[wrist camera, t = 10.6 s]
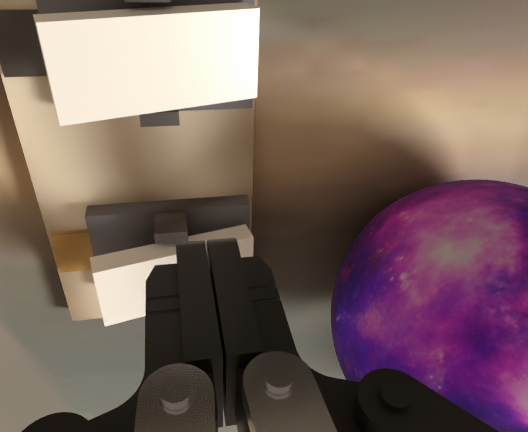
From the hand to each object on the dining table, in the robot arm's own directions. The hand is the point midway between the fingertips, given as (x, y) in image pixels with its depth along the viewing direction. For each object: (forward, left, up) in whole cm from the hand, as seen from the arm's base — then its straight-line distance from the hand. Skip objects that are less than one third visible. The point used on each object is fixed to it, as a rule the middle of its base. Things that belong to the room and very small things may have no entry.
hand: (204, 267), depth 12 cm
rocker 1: (+1, -2, -10) cm, 11 cm away
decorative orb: (-14, +11, -14) cm, 23 cm away
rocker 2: (+1, +9, -10) cm, 13 cm away
